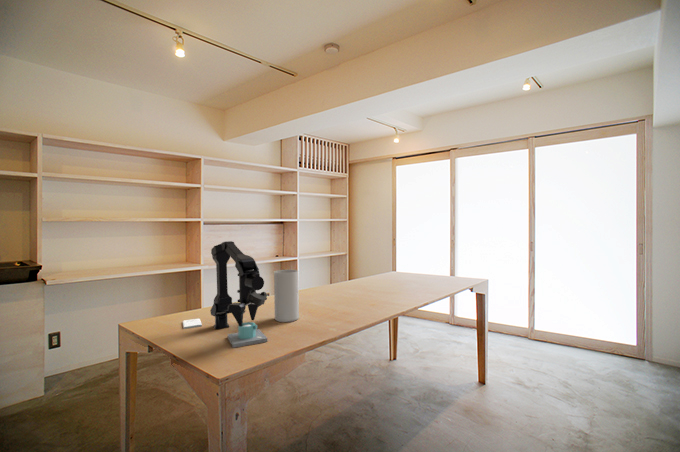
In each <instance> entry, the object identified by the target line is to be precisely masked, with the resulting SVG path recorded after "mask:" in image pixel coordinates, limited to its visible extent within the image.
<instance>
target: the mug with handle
mask: <svg viewBox="0 0 680 452" xmlns="http://www.w3.org/2000/svg"><path fill="white" fill-rule="evenodd" d="M237 325H238V324H237ZM243 325H251V326H246V327H244V326H243ZM237 328H238V329H237V330H238V332H237V333H238V338H240V339H250V338H253V337H255V335H256V332H255V330H257V329H258V324H256V323H255V322H251V321H247V322H246V321H245V322H243V323H242V327H240V326H239V325H238V326H237Z"/></svg>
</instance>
